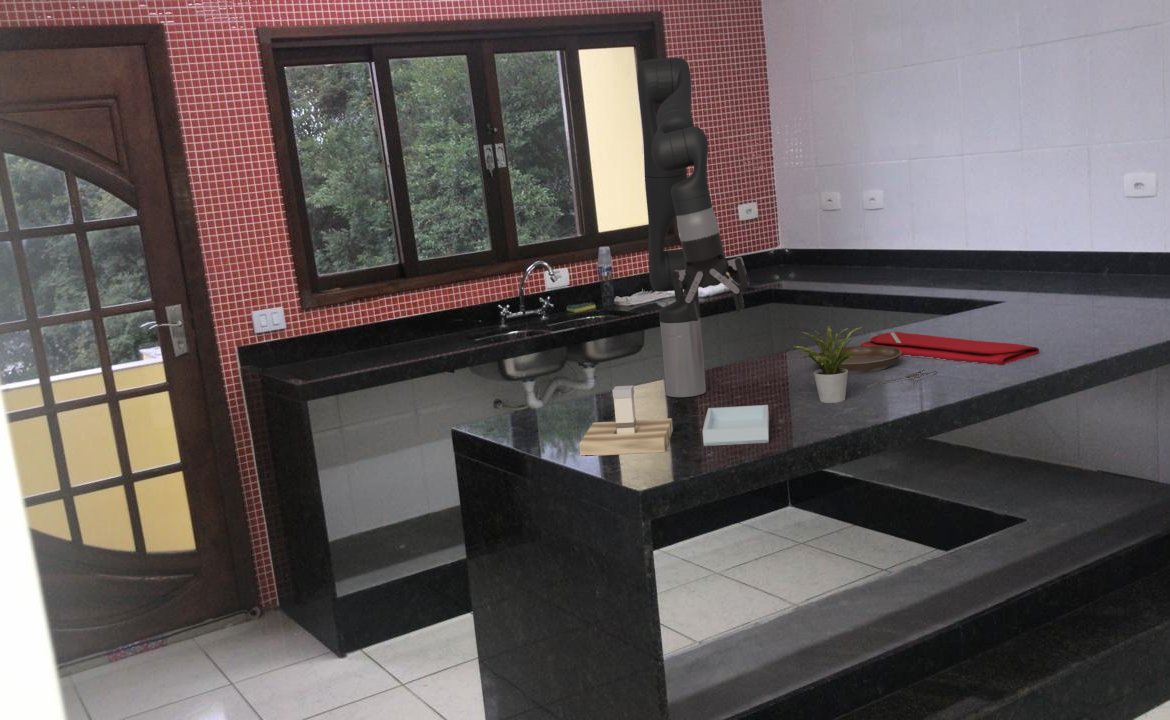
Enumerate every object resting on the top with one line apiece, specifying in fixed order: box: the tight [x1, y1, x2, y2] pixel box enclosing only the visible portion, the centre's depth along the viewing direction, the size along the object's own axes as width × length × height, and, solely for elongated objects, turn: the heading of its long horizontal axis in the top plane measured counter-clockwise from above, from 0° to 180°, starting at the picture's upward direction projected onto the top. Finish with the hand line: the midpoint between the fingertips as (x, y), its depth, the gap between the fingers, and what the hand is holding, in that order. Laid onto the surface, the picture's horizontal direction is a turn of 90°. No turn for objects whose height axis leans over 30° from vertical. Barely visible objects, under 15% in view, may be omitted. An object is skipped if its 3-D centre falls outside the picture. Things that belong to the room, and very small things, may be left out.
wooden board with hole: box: [578, 417, 674, 456], centre depth 207 cm, size 16×16×2 cm
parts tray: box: [702, 404, 770, 447], centre depth 207 cm, size 18×12×3 cm, turn 170°
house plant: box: [793, 325, 863, 404], centre depth 226 cm, size 14×14×16 cm
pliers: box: [866, 369, 937, 392], centre depth 238 cm, size 10×1×20 cm
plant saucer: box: [818, 345, 901, 374], centre depth 258 cm, size 21×21×3 cm
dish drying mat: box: [859, 331, 1040, 366], centre depth 264 cm, size 16×41×4 cm, turn 36°
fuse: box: [612, 385, 637, 434], centre depth 207 cm, size 4×4×11 cm
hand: (718, 316), depth 207 cm, fingers open, 8 cm apart
